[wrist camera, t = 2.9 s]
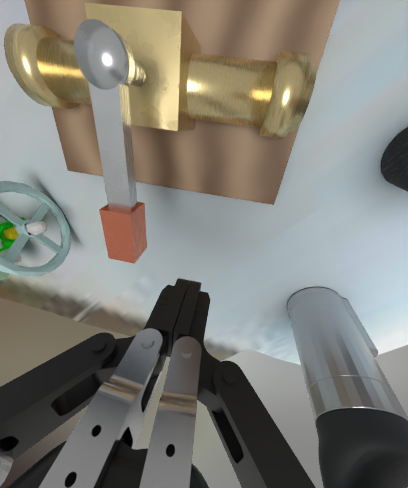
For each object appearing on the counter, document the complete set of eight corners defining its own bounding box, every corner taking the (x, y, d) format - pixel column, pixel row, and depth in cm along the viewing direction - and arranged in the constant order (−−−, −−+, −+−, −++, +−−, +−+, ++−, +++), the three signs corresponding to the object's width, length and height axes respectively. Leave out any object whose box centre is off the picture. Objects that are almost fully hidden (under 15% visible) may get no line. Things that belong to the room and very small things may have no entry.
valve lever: (137, 36, 12) (112, 15, 10) (148, 247, 21) (136, 263, 18) (92, 31, 12) (57, 10, 10) (122, 242, 21) (106, 257, 19)
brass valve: (307, 60, 19) (370, 1, 10) (283, 140, 23) (312, 153, 14) (46, 32, 21) (-109, -37, 12) (63, 110, 25) (-43, 102, 16)
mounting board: (355, -61, 16) (365, -77, 14) (272, 200, 28) (273, 204, 26) (17, -80, 18) (0, -96, 17) (75, 168, 30) (67, 170, 29)
